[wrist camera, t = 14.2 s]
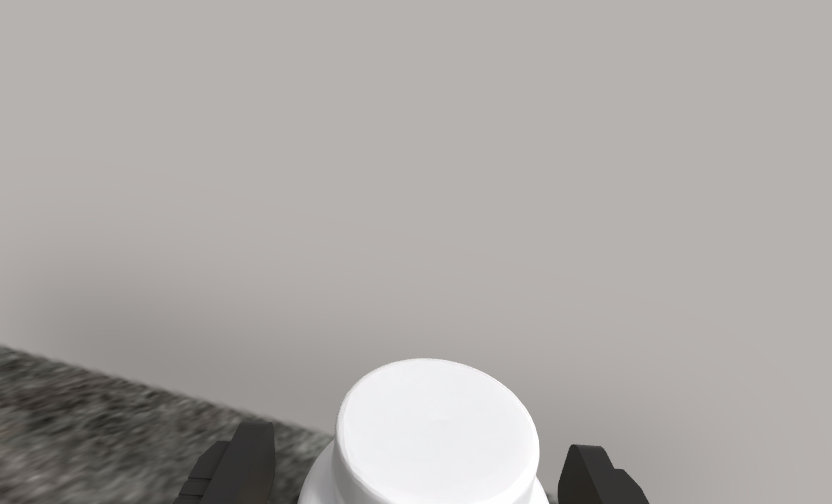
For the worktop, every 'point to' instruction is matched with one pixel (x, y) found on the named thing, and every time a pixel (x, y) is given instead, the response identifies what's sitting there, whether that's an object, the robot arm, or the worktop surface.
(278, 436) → the worktop surface
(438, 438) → the supplement bottle
